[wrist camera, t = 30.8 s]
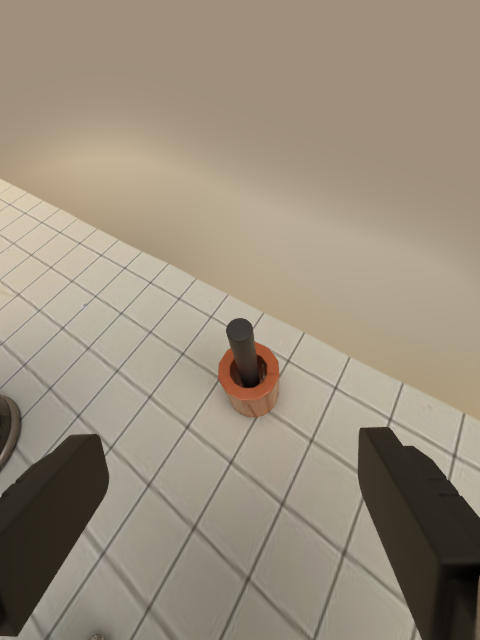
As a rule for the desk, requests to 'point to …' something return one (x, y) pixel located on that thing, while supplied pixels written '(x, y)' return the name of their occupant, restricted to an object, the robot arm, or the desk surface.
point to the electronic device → (97, 637)
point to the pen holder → (251, 399)
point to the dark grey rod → (244, 351)
